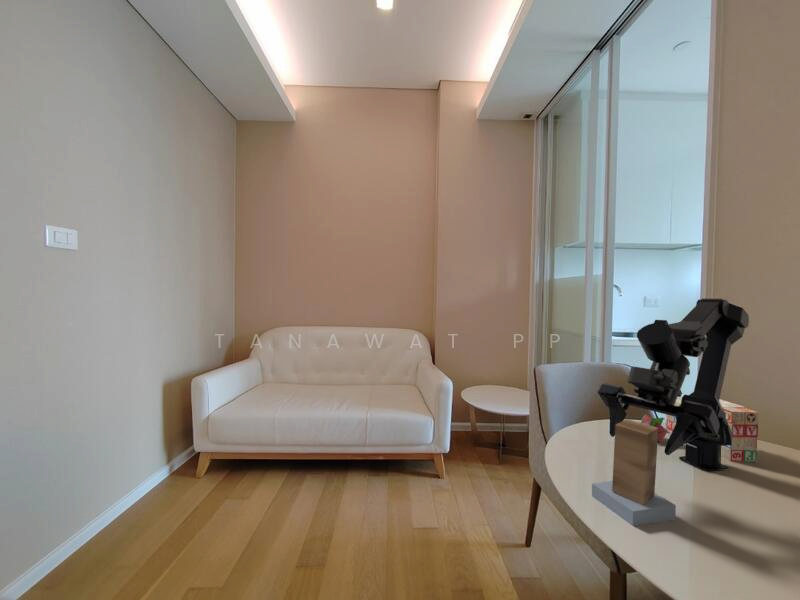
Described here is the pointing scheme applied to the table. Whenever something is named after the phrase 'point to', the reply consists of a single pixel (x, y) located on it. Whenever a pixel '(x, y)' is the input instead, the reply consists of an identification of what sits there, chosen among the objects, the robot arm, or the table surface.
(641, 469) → the walnut block
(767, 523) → the table surface
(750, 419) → the stack of blocks
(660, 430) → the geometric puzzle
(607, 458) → the table surface
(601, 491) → the slate base block
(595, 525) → the table surface
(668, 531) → the table surface
